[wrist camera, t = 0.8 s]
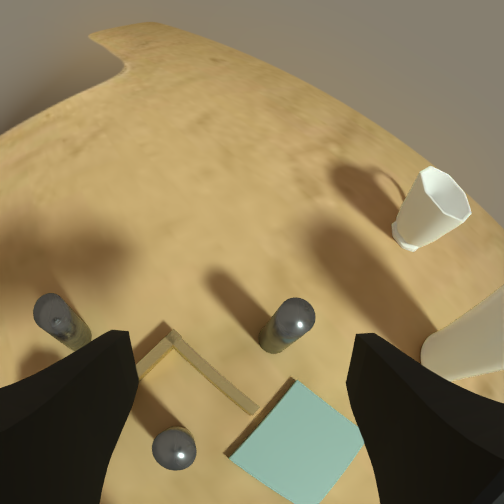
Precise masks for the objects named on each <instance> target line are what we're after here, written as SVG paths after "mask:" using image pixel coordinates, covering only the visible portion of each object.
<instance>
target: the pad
mask: <svg viewBox="0 0 504 504" xmlns="http://www.w3.org/2000/svg"><path fill="white" fill-rule="evenodd" d="M363 444H364V441H363V438H362V436H361V433H360V430H359V428H358V427H357V426H356V425H355V424H353V423H352V422H351V421H349V420H348V419H347V418H345V417H344V416H343V415H341V414H340V413H339V412H337V411H336V410H335V409H334V408H332V407H331V406H330V405H328V404H327V403H326V402H324V401H323V400H322V399H321V398H319V397H318V396H317V395H316V394H314V393H313V392H312V391H310V390H309V389H308V388H307V387H305V386H304V385H303V384H302V383H301V382H299V381H298V380H296V381H295V382H294V383H293V385H292V386H291V387H290V388H289V389H288V391H287V392H286V393H285V394H284V396H283V397H282V398H281V399H280V400H279V402H278V403H277V404H276V405H275V406H274V408H273V409H272V410H271V411H270V412H269V414H268V415H267V416H266V417H265V418H264V419H263V421H262V422H261V423H260V424H259V425H258V426H257V427H256V429H255V430H254V431H253V432H252V433H251V434H250V435H249V436H248V437H247V439H246V440H245V441H244V442H243V443H242V444H241V445H240V446H239V447H238V448H237V449H236V451H235V452H234V453H233V454H232V455H231V456H230V457H229V459H230V460H231V461H233V462H234V463H235V464H237V465H238V466H239V467H241V468H242V469H243V470H245V471H246V472H247V473H249V474H250V475H252V476H253V477H255V478H256V479H257V480H259V481H260V482H262V483H263V484H265V485H266V486H268V487H269V488H271V489H272V490H274V491H275V492H277V493H278V494H280V495H281V496H283V497H285V498H286V499H288V500H289V501H291V502H293V503H294V504H319V503H320V502H321V501H322V499H323V498H324V497H325V496H326V494H327V493H328V492H329V491H330V489H331V488H332V487H333V486H334V484H335V483H336V482H337V480H338V479H339V478H340V477H341V475H342V474H343V473H344V471H345V470H346V469H347V467H348V466H349V464H350V463H351V462H352V460H353V459H354V457H355V456H356V455H357V453H358V452H359V450H360V449H361V447H362V446H363Z"/></svg>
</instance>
